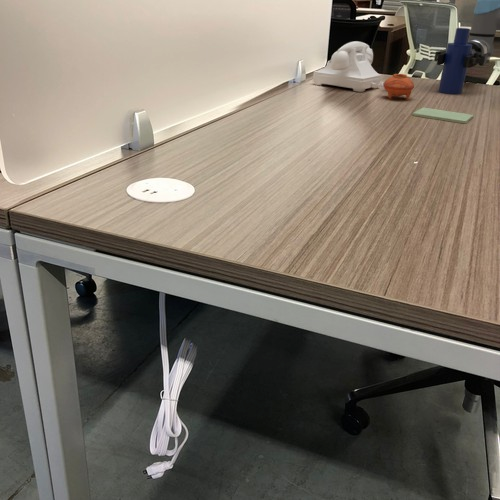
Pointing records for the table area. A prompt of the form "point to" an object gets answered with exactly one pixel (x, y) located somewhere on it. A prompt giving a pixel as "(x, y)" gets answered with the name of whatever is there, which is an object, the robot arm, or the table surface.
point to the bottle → (455, 63)
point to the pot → (398, 85)
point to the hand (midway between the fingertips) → (452, 61)
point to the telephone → (350, 68)
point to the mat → (443, 115)
